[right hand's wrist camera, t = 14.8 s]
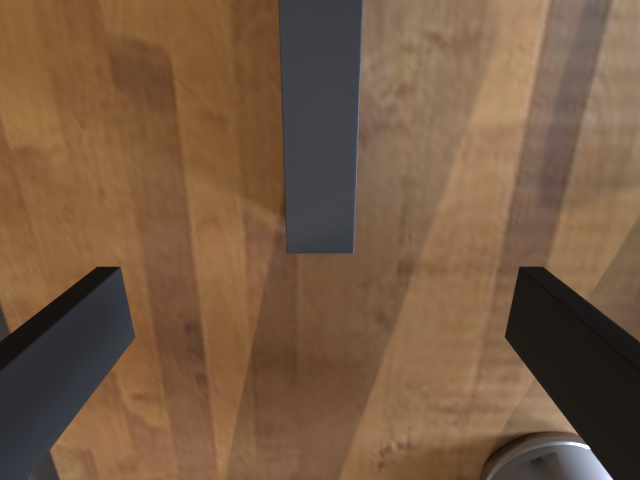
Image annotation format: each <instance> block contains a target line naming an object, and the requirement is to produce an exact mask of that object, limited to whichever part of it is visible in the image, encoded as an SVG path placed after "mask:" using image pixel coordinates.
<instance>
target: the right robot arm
mask: <svg viewBox="0 0 640 480" xmlns="http://www.w3.org/2000/svg"><path fill="white" fill-rule="evenodd" d="M134 338H135V334H134V329H133V324H132V319H131V315H130V310H129V305H128V300H127V296H126V291H125V286H124V281H123V276H122V272H121V267H96V268H95V269H94V270H92V271H91V272H90V273H88V274H87V275H86V276H85V277H83V278H82V279H81V280H79V281H78V282H77V283H76V284H74V285H73V286H72V287H70V288H69V289H68V290H67V291H65V292H64V293H63V294H61V295H60V296H59V297H58V298H56V299H55V300H54V301H52V302H51V303H50V304H49V305H47V306H46V307H45V308H43V309H42V310H41V311H40V312H38V313H37V314H36V315H34V316H33V317H32V318H31V319H29V320H28V321H27V322H25V323H24V324H23V325H22V326H20V327H19V328H18V329H16V330H15V331H14V332H13V333H11V334H10V335H9V336H7V337H6V338H5V339H4V340H2V341H1V342H0V480H27V479H28V478H29V476H30V475H31V474H32V473H33V471H34V470H35V469H36V467H37V466H38V465H39V463H40V462H41V461H42V459H43V458H44V457H45V455H46V454H47V453H48V451H49V450H50V449H51V448H52V446H53V445H54V444H55V442H56V441H57V440H58V438H59V437H60V436H61V434H62V433H63V432H64V430H65V429H66V428H67V426H68V425H69V424H70V422H71V421H72V420H73V419H74V417H75V416H76V415H77V413H78V412H79V411H80V409H81V408H82V407H83V405H84V404H85V403H86V401H87V400H88V399H89V397H90V396H91V395H92V393H93V392H94V391H95V390H96V388H97V387H98V386H99V384H100V383H101V382H102V380H103V379H104V378H105V376H106V375H107V374H108V372H109V371H110V370H111V368H112V367H113V366H114V364H115V363H116V362H117V361H118V359H119V358H120V357H121V355H122V354H123V353H124V351H125V350H126V349H127V347H128V346H129V345H130V343H131V342H132V341H133V339H134ZM505 338H506V339H507V341H508V342H509V343H510V345H511V346H512V347H513V349H514V350H515V351H516V353H517V354H518V355H519V357H520V358H521V359H522V361H523V362H524V363H525V364H526V366H527V367H528V368H529V370H530V371H531V372H532V374H533V375H534V376H535V378H536V379H537V380H538V382H539V383H540V384H541V386H542V387H543V388H544V390H545V391H546V392H547V393H548V395H549V396H550V397H551V399H552V400H553V401H554V403H555V404H556V405H557V407H558V408H559V409H560V411H561V412H562V413H563V415H564V416H565V417H566V419H567V420H568V421H569V422H570V424H571V425H572V426H573V428H574V429H575V430H576V432H577V433H578V434H579V436H577V435H574V434H570V433H564V432H544V433H537V434H533V435H529V436H526V437H523V438H520V439H518V440H515V441H513V442H511V443H509V444H508V445H506V446H504V447H503V448H501V449H500V450H499V451H498V452H496V453H495V454H494V455H493V456H492V457H491V458H490V459H489V461H488V462H487V463H486V465H485V467H484V468H483V471H482V473H481V476H480V480H640V342H639V341H638V340H636V339H635V338H634V337H633V336H631V335H630V334H629V333H627V332H626V331H625V330H624V329H622V328H621V327H620V326H618V325H617V324H616V323H615V322H613V321H612V320H611V319H609V318H608V317H607V316H606V315H604V314H603V313H602V312H600V311H599V310H598V309H597V308H595V307H594V306H593V305H591V304H590V303H589V302H588V301H586V300H585V299H584V298H582V297H581V296H580V295H579V294H577V293H576V292H575V291H573V290H572V289H571V288H570V287H568V286H567V285H566V284H564V283H563V282H562V281H561V280H559V279H558V278H557V277H555V276H554V275H553V274H552V273H550V272H549V271H548V270H546V269H545V268H544V267H519V272H518V276H517V281H516V286H515V291H514V296H513V300H512V305H511V310H510V315H509V319H508V324H507V329H506V334H505Z"/></svg>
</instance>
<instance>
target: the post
mask: <svg viewBox="0 0 640 480" xmlns="http://www.w3.org/2000/svg"><path fill="white" fill-rule="evenodd" d="M362 17H363V0H279V29H280V60H281V91H282V121H283V152H284V183H285V213H286V244H287V253H354V234H355V207H356V180H357V152H358V125H359V98H360V71H361V44H362Z"/></svg>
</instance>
